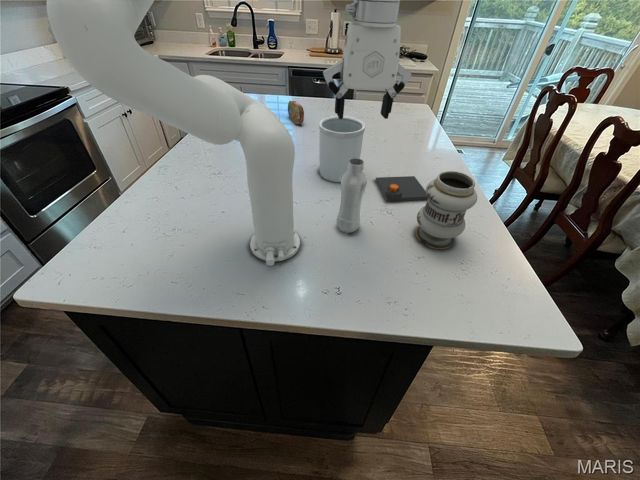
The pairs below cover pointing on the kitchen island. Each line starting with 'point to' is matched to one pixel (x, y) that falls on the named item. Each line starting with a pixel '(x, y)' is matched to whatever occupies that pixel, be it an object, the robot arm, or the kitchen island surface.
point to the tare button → (393, 188)
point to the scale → (401, 189)
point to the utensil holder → (339, 145)
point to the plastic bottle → (351, 196)
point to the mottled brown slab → (295, 112)
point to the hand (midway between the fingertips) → (362, 116)
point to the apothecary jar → (445, 209)
